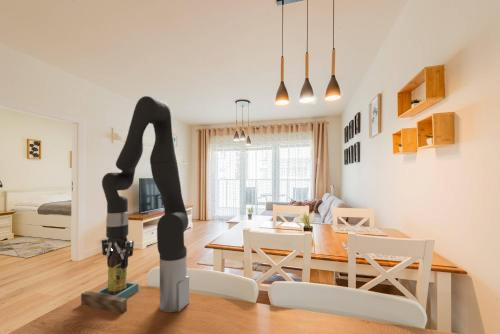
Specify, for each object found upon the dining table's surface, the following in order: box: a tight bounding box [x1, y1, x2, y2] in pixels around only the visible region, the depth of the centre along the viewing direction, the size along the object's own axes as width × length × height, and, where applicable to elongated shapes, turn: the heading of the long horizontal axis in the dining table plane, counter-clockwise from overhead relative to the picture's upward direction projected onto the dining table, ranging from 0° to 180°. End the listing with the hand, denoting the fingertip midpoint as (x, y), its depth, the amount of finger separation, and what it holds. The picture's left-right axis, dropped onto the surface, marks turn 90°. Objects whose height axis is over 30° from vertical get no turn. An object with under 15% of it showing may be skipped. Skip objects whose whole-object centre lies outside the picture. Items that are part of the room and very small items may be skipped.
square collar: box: [95, 281, 139, 300], centre depth 90 cm, size 10×11×3 cm
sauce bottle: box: [107, 241, 128, 295], centre depth 91 cm, size 6×6×20 cm
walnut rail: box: [80, 290, 128, 314], centre depth 83 cm, size 19×2×4 cm, turn 72°
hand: (117, 267), depth 91 cm, fingers closed on sauce bottle, 6 cm apart
